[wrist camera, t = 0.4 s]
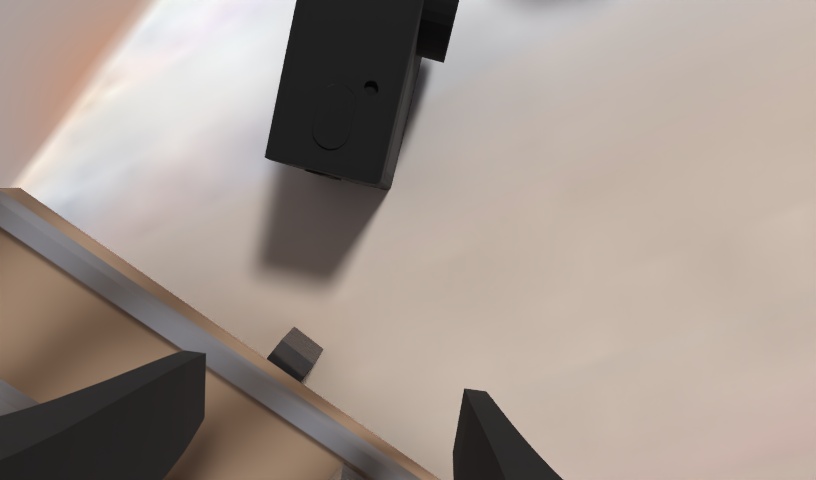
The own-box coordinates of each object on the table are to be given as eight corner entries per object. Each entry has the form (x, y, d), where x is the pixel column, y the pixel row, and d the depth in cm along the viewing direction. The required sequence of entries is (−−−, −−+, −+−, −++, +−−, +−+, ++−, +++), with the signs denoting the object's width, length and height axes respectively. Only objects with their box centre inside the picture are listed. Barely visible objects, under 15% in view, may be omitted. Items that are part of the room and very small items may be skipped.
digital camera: (411, 198, 21) (410, 196, 14) (311, 174, 21) (262, 160, 14) (460, -3, 20) (484, -109, 13) (355, -29, 20) (325, -149, 13)
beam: (497, 519, 22) (507, 549, 20) (401, 626, 22) (402, 665, 20) (19, 187, 18) (-22, 188, 16) (-81, 329, 18) (-130, 345, 17)
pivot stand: (323, 349, 22) (313, 364, 20) (215, 482, 23) (195, 510, 21) (294, 326, 22) (281, 339, 20) (187, 461, 23) (164, 487, 21)
